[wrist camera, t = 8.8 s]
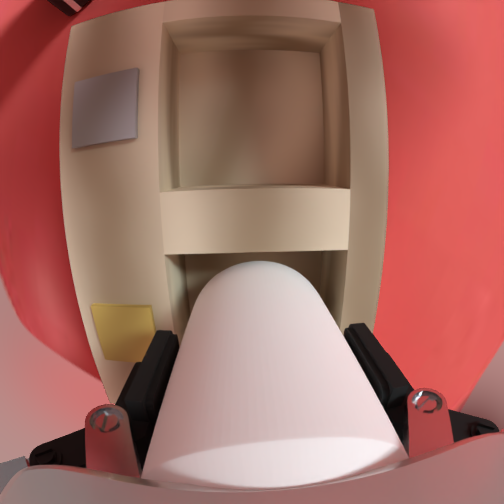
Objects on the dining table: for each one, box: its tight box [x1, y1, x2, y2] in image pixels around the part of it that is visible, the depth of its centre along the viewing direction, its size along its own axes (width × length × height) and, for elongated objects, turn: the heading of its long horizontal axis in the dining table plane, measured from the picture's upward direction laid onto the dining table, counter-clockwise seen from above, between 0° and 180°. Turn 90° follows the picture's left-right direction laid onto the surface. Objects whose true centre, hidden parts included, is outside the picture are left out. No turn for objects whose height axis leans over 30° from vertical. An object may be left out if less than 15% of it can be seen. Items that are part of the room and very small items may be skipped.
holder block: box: [60, 0, 389, 404], centre depth 14 cm, size 14×20×5 cm
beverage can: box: [141, 261, 409, 490], centre depth 9 cm, size 6×6×12 cm
